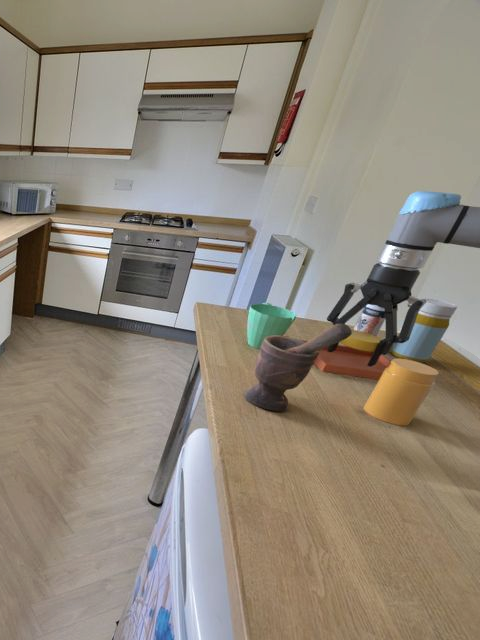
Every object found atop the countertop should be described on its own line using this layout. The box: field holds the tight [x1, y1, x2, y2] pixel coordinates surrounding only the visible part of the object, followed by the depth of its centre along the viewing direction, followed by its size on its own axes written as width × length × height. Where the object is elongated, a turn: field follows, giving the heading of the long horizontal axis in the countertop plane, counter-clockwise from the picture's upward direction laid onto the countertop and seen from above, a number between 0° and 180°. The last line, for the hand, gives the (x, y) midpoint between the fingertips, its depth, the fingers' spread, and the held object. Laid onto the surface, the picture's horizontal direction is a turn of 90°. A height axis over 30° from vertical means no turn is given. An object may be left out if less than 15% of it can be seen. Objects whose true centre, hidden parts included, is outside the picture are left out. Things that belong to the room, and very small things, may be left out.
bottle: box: [390, 298, 458, 364], centre depth 102 cm, size 7×7×15 cm
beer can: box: [352, 304, 386, 337], centre depth 108 cm, size 5×5×12 cm
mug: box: [246, 302, 297, 350], centre depth 108 cm, size 15×10×10 cm
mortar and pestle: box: [244, 323, 352, 413], centre depth 77 cm, size 12×9×20 cm
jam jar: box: [363, 358, 439, 426], centre depth 78 cm, size 7×7×11 cm
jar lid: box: [339, 329, 383, 352], centre depth 98 cm, size 8×8×2 cm
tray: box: [299, 339, 391, 381], centre depth 100 cm, size 17×14×2 cm
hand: (350, 357), depth 100 cm, fingers closed on jar lid, 7 cm apart
